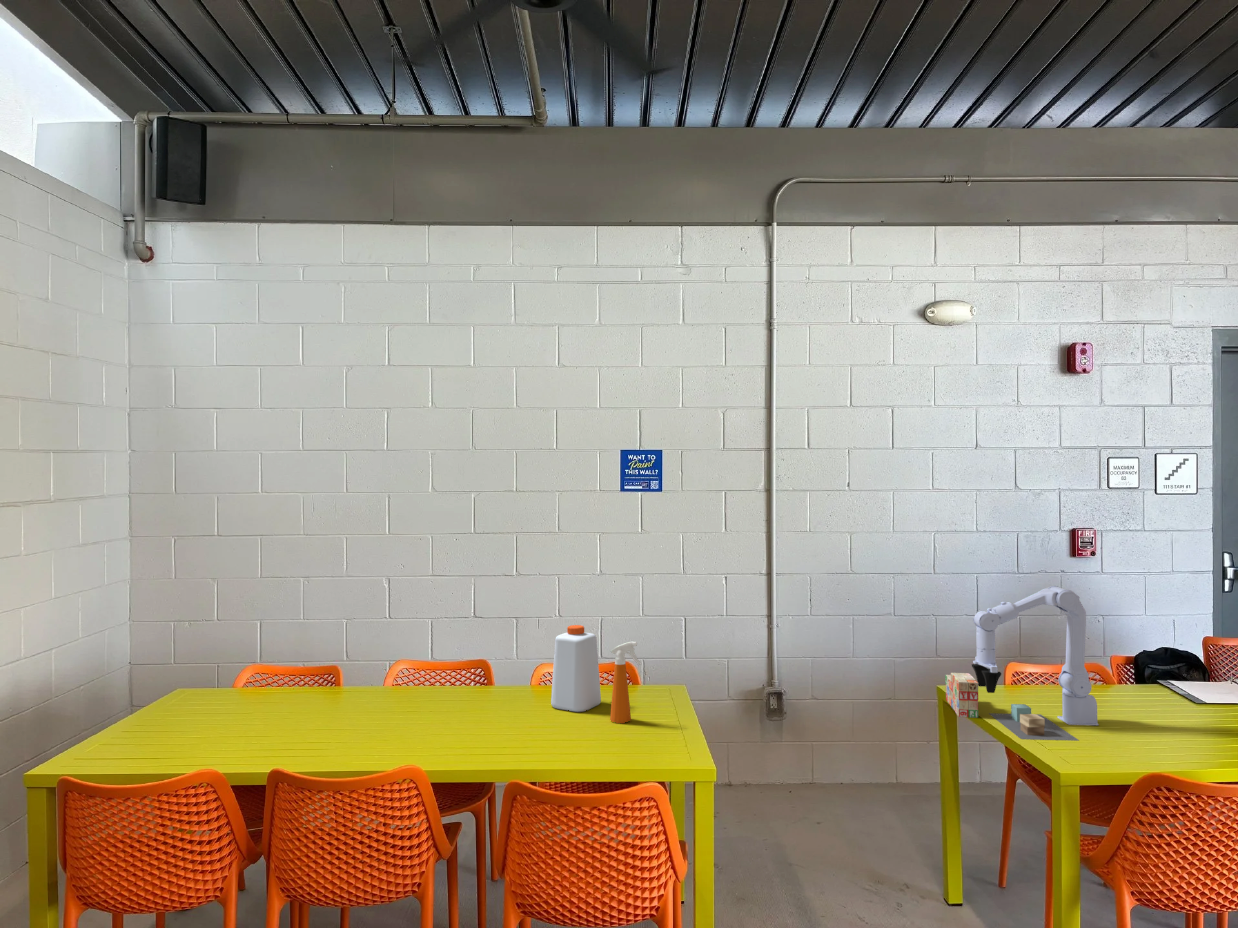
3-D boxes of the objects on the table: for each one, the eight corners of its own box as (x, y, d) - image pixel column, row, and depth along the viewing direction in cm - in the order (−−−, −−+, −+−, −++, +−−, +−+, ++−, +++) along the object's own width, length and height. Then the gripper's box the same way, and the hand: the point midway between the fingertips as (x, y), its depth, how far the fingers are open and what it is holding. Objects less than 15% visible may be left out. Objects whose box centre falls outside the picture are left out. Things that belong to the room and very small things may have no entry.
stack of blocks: (945, 700, 282) (945, 665, 282) (963, 701, 281) (963, 666, 281) (958, 718, 261) (958, 681, 261) (978, 719, 260) (978, 682, 260)
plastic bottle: (582, 714, 267) (582, 632, 268) (546, 707, 275) (546, 628, 275) (605, 702, 280) (605, 624, 281) (570, 697, 288) (569, 621, 288)
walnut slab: (1037, 730, 247) (1036, 722, 247) (1044, 735, 242) (1044, 727, 242) (1020, 729, 248) (1020, 721, 248) (1027, 734, 243) (1027, 726, 243)
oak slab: (1035, 721, 248) (1035, 713, 248) (1044, 726, 243) (1044, 718, 243) (1019, 722, 247) (1019, 714, 247) (1029, 727, 242) (1028, 719, 242)
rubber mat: (1040, 715, 263) (1040, 714, 263) (1079, 741, 237) (1079, 740, 237) (988, 714, 265) (988, 713, 265) (1021, 739, 239) (1021, 738, 239)
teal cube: (1025, 717, 260) (1025, 704, 260) (1031, 721, 255) (1031, 708, 255) (1011, 717, 260) (1011, 703, 260) (1017, 721, 256) (1016, 707, 256)
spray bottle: (640, 724, 255) (639, 644, 256) (607, 722, 258) (607, 642, 258) (643, 718, 262) (643, 639, 263) (612, 716, 265) (611, 638, 265)
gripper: (965, 643, 267) (966, 683, 266) (981, 652, 252) (982, 695, 252) (987, 643, 266) (987, 683, 266) (1004, 653, 252) (1004, 695, 251)
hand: (986, 689), depth 259 cm, fingers open, 7 cm apart
